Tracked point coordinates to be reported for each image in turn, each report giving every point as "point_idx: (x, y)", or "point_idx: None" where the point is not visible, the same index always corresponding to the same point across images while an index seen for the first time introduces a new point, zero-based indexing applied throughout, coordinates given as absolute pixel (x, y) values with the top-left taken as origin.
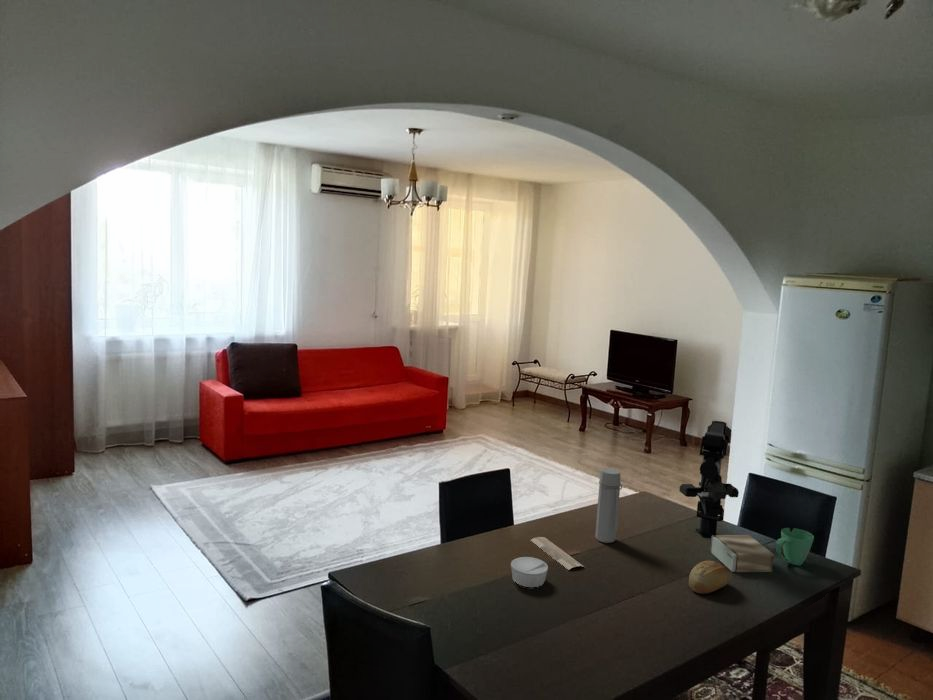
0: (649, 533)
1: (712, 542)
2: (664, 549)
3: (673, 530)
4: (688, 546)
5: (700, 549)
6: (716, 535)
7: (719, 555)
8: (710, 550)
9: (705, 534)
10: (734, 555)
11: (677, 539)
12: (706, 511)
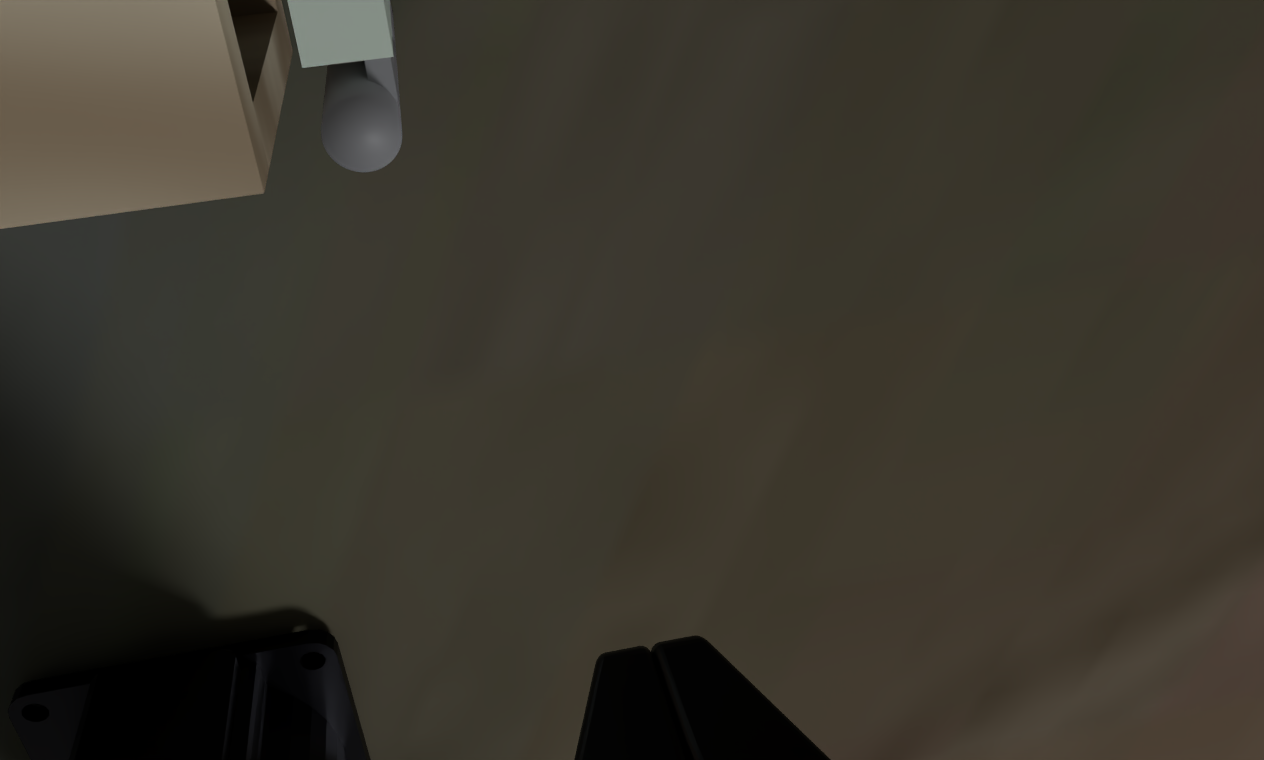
0: (1127, 584)
1: (388, 9)
2: (1243, 42)
3: None
4: (740, 233)
5: (555, 130)
6: (253, 160)
7: None
8: (392, 16)
9: (277, 691)
10: None
11: (808, 472)
12: (771, 735)
